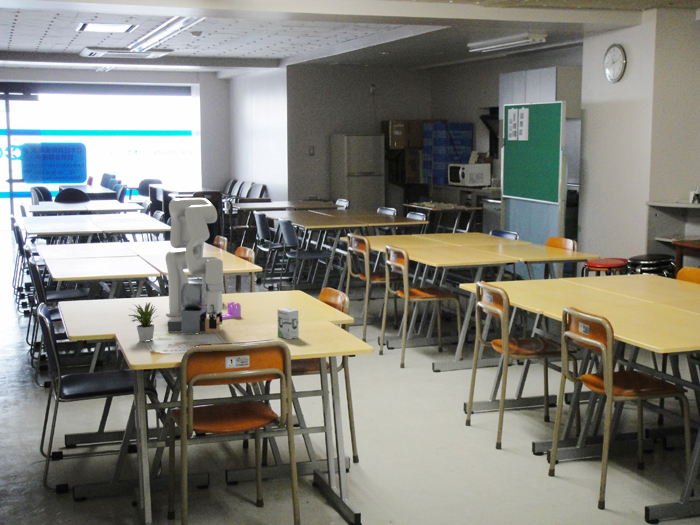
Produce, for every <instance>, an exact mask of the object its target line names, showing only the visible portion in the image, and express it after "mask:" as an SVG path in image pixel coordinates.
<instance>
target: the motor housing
mask: <svg viewBox="0 0 700 525" xmlns="http://www.w3.org/2000/svg"><path fill="white" fill-rule="evenodd" d="M205 301H206V290H205V285H204V284H203V283H202V282H200V283H198V282H197V283H196V282H195V283H193V282H191V283H190V282H189V283H184V284H183V286H182V289H181V304H182V307H183V308H184V309H183V310H181V316H180V320H181V331H182V332H181V334H182V333H198V334H197V335H200V334H201V333H202V332H201V325H200V320H205V319H206V318H207V317H208V314H207V305H205Z"/></svg>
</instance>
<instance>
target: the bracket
mask: <svg viewBox="0 0 700 525" xmlns="http://www.w3.org/2000/svg"><path fill="white" fill-rule="evenodd" d="M241 308H242V305H241V304H240V303H239V302H234V301H229V302H227V313H222V321H223V320H228V319H229V320H230V319H235V318H241V317H242V314H241V313H242V310H241Z"/></svg>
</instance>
